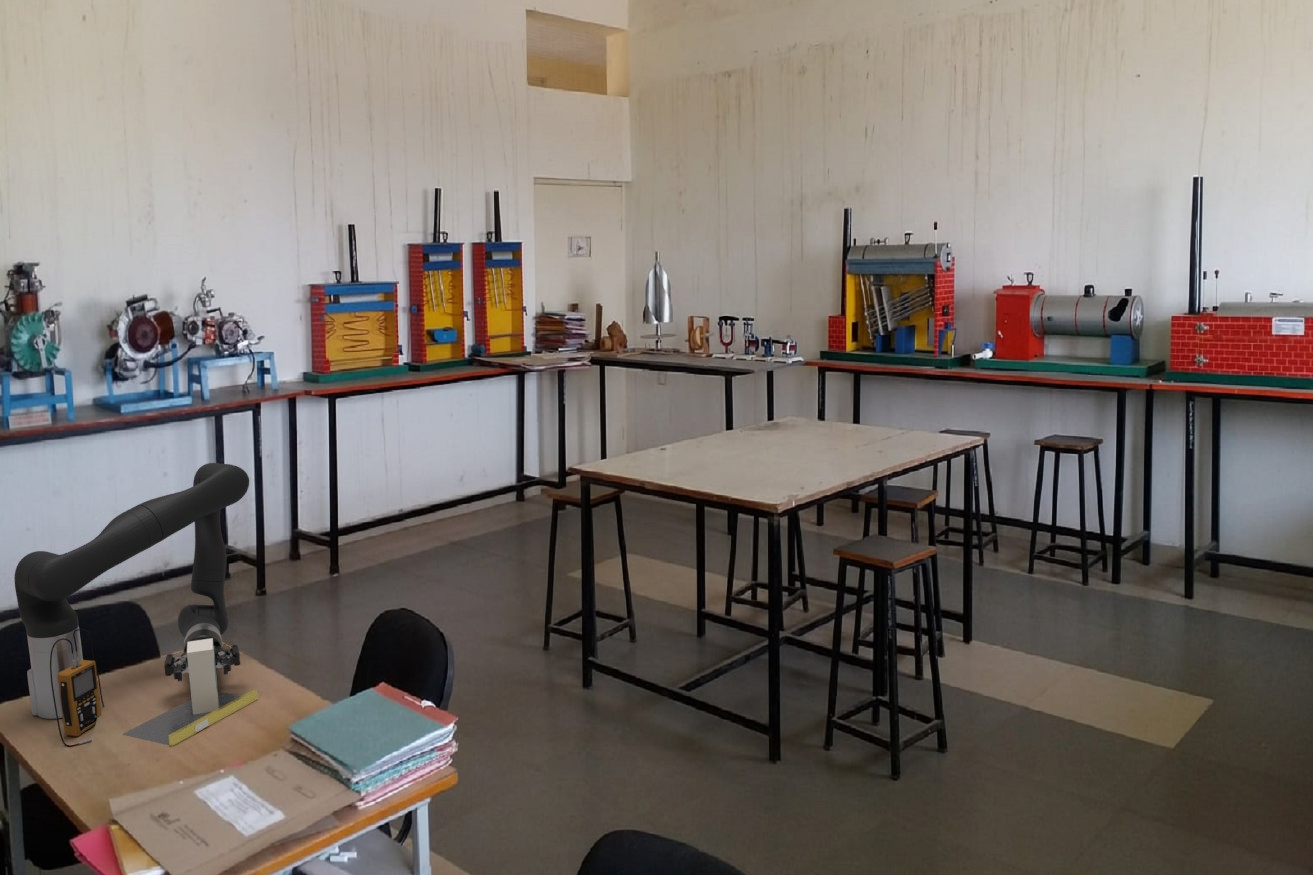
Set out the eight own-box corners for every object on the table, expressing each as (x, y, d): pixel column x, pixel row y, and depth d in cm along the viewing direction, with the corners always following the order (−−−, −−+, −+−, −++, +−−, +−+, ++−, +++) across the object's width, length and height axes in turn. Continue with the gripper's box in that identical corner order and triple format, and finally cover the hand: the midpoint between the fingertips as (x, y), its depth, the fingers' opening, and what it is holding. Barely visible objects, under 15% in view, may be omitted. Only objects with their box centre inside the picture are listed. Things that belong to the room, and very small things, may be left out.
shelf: (122, 741, 206) (120, 724, 205) (210, 696, 225) (208, 680, 225) (174, 753, 201) (172, 736, 200) (259, 706, 220) (257, 690, 220)
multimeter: (96, 750, 202) (84, 650, 199) (50, 745, 204) (37, 646, 201) (147, 716, 217) (136, 622, 213) (103, 712, 219) (92, 619, 215)
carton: (193, 714, 213) (186, 653, 211) (193, 701, 219) (187, 641, 217) (219, 710, 215) (213, 649, 213) (218, 697, 221) (213, 638, 219)
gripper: (164, 633, 226) (161, 661, 211) (237, 623, 231) (239, 650, 217) (168, 667, 228) (165, 697, 213) (240, 656, 233) (242, 684, 218)
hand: (202, 673), depth 215 cm, fingers open, 8 cm apart
